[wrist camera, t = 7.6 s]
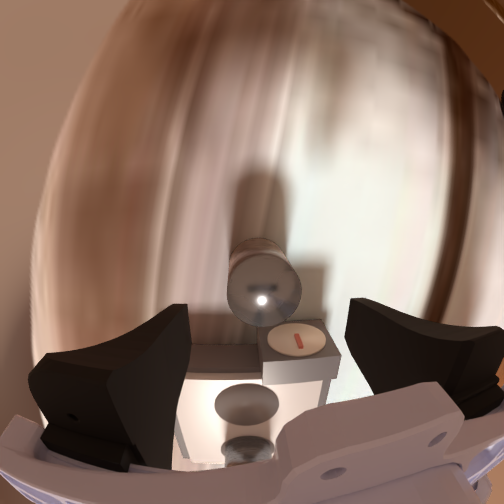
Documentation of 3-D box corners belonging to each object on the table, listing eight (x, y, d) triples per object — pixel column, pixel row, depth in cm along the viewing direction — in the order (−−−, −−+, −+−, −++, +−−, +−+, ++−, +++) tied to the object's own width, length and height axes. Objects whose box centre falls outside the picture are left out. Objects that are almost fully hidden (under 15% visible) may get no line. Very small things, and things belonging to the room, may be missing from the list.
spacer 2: (275, 437, 19) (282, 483, 15) (264, 459, 20) (269, 501, 16) (228, 434, 19) (228, 482, 14) (222, 456, 20) (221, 499, 15)
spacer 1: (286, 237, 19) (303, 257, 14) (285, 291, 20) (299, 325, 15) (228, 238, 19) (225, 258, 14) (229, 292, 20) (228, 327, 15)
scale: (327, 314, 21) (349, 349, 16) (306, 433, 25) (315, 468, 20) (159, 317, 20) (141, 354, 15) (186, 437, 24) (181, 472, 19)
